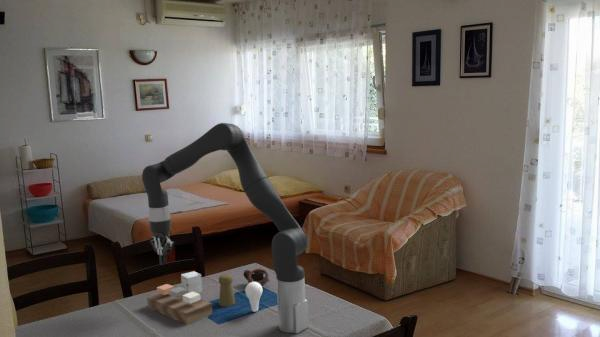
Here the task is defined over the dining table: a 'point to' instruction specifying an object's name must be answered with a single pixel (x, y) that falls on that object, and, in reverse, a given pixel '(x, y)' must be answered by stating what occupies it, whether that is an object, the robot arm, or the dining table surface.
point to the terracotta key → (164, 289)
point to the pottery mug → (256, 276)
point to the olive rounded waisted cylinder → (226, 290)
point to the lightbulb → (254, 294)
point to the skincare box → (192, 282)
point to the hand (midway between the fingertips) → (163, 263)
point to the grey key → (178, 292)
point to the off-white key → (191, 297)
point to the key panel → (179, 308)
